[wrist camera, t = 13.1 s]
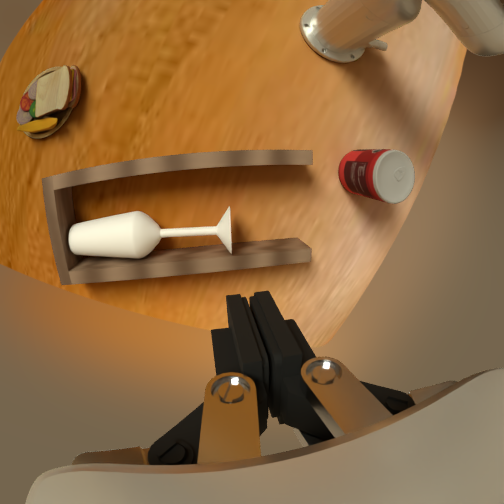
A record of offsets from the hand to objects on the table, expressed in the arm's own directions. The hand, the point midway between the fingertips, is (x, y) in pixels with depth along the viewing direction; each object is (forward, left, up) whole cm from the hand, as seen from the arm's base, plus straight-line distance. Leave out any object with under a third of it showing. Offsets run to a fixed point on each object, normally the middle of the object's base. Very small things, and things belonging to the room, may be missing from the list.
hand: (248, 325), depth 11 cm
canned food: (-25, -5, -32) cm, 41 cm away
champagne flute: (-3, +3, -27) cm, 27 cm away
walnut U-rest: (+5, 0, -32) cm, 32 cm away
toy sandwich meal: (+26, -21, -32) cm, 47 cm away
